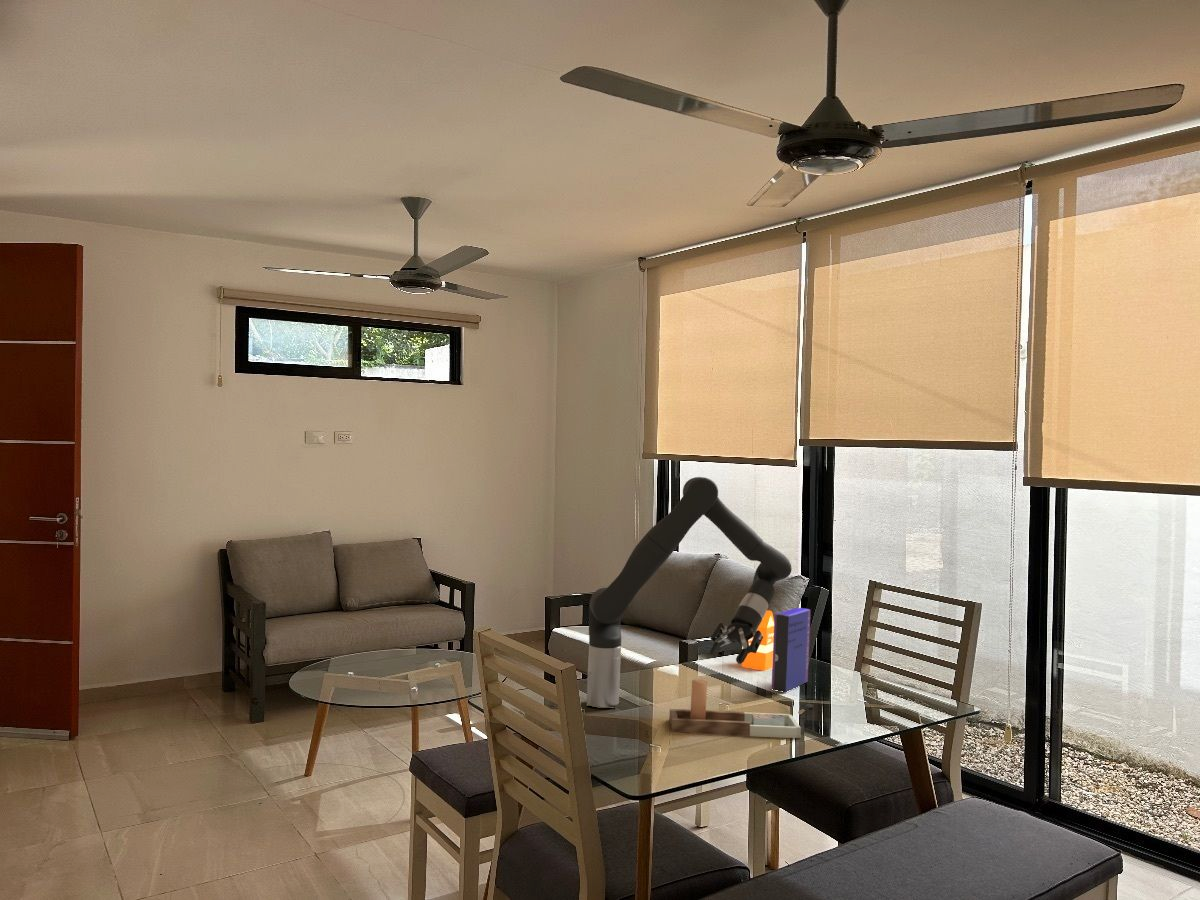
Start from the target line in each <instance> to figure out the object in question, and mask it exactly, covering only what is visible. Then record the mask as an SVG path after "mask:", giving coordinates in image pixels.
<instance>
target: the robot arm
mask: <svg viewBox="0 0 1200 900" xmlns="http://www.w3.org/2000/svg"><path fill="white" fill-rule="evenodd" d="M703 516H705V517H706V518H707V519H708V520H709V521H710V522H711V523H713V525H715V527H716V528H718V530H719V531H721V533H723V535H724V536H725V537H726V538H727V539H728V540H729V541H730V542H731V543H732V544H733V545H734V547H736V549H737V550H738V551H739V552H740V553H741V555H742V554H743V556H744V557H745V558H746V559H747V560H749V561H752V562H753V561H754V562H756V561H757V562H759V564H758V566H757V567H756V570H755V571H754V572H755V573H754V576H753V580H752V584H751V586H750V588H749V589H748V591H747V592H746V595H745V596H744V597H743V598H742V600H741V601H740V603H739V605H738V607H737V609H736V610H735V612H734V614H733V616H732V618H731V621H730V624H729V625H724V623H723V622H720V623H718V625H717V627H716V628H715V630H714V631H713V633H712V635H711V636H710V640H711V641H712V643H713V645H712V647H711V649H710V650H709V654H710V656H711V657H712V659H716V658H717V657H718V655H719V652H720V651H721V648H722V647H723V646H726V645H730V644H731V643H732V644H738V645H740V646H741V645H742V646H743V649H742V648H740V650H739V652H738V653H737V656H736V658H735V662H736V663H737V664H738V665H742V663H743V662H744V660H745V658H746V657H747V655H748V654H749V653H751V652H753V653H756V652H757V650H758V648H759V646H760V643H761V641H762V639H763V635H762V634H761V632H760V631H759V630H758V631H757V629H758V627H759V625H760V623H761V621H762V619H763V618H764V616H765V614H766V611H767V610H768V608H769V606H770V605H771V602H772V600H773V599H774V597H775V594H776V589H775V587H774V585H775V584H776V582H779V581H781V580H784V579H787V578H788V577H789V576H790V575H791V573H792V564H791V562H790V560H789V558H788V557H787V556H786V555H785V554H784V553H782V552H781V551H780V550H778V549H777V548H775V547H774V546H772V545H770V544H769V543H767V542H766V541H764V539H763V538H761V536H760V535H759V534H757V532H756V531H755V530H754V529H753V528H752V527H750V526H749V524H747V523H746V522H745V521H744V520H742V519H741V518H740V517H739V516H737V515H736V513H734V512H733V511H732V510H730V509H729V507H727V505H725V503H724V502H723V501H722V500H721V499H720V498H719V489H718V486H717V484H716V482H715V481H713V480H712V479H711V478H708V477H703V476H702V477H701V476H695V477H692V478H690V479H688V480H687V481H686V482H685V484H684V485H683V487H682V497H681V499H680V500H679V501H678V503H677V504H676V505H675V507H674V508H673V509H672V510H671V511H670V512H669V513H668V514H667V515H665V516H664V517H663V518H662V519H661V520H659V521H658V522H657V523H656V524H655V525H653V526H652V527H651V528H650V529H649V530H648V531H647V532H646V533H645V535H643V537H642V538H641V539H640V540H639V542H638V543H637V544H636V546H635V547H634V548H633V550H632V552H631V554H630V555H629V557H628V559H627V560H626V563H625V564H624V567H623V568H622V569H621V571H620V573H619V574H618V576H617V577H616V578H615V579H614V580H613V581H612V582H611V583H610V584H609V585H608V586H607V587H601V588H599V589H597V590H596V591H594V592H593V594H592V595H591V597H590V600H589V609H588V610H589V611H588V613H589V614H588V639H589V640H588V644H589V645H588V663H587V665H588V666H587V682H586V684H587V685H586V687H587V688H586V705H587V704H592V705H596V706H600V707H615V708H616V706H617V705H619V703H620V687H621V686H620V683H621V680H620V679H621V678H620V677H621V660H622V659H621V657H622V656H621V654H622V631H621V630H622V629H621V621H622V620H621V618H622V617H623V614H624V613H625V612H626V611H627V608H628V607H629V605H630V604H631V602H632V601H633V599H634V598H635V597H636V595H637V594H638V593H639V591H640V590H641V589H642V588H643V586H645V585H646V583H647V582H648V581H650V579H651V578H652V577H653V576H655V574H656V573H657V571H658V570H659V569H660V568H661V567H662V566H663V565H664V564H665V562H666V561H668V558H669V557H670V556H671V555H672V554H673V552H674V551H675V550H676V549H677V547H678V546H679V545H680V543H681V542H682V541H683V539H684V538H685V537H686V536H687V534H688V532H689V530H690V529H691V528H693V526H694V525H695V524H696V522H698V521H699V519H700V518H702V517H703ZM751 638H753V640H752V642H751V644H750V646H749V642H748V640H749V639H751Z"/></svg>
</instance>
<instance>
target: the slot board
mask: <svg viewBox="0 0 1200 900" xmlns="http://www.w3.org/2000/svg"><path fill="white" fill-rule="evenodd" d="M744 712H745V711H730V710H729V711H728V710H708V709H706V718H705V720H703V719H690V713H691V709H684V708H683V709H682V708H681V709H680V708H669V717H668V720H669V723H670V724H669V725H670V729H671V732H672V734H688V735H689V734H690V735H691V734H692V735H711V736H713V735H714V736H715V735H716V736H734V737H736V736H737V737H739V736H740V737H751V736H750V735H749V733H750V725H751V723H750V722H749V721H744V718H745V713H744Z"/></svg>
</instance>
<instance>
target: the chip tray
mask: <svg viewBox="0 0 1200 900" xmlns="http://www.w3.org/2000/svg"><path fill="white" fill-rule="evenodd" d="M743 712H744V713H745V718H744V721H749V722H750V733H749V735H750V736H749V737H760V738H761V737H763V738H769V737H770V738H782V739H783V738H785V739H786V738H787V739H801V737H802V736H801V732H802V727H801V726H800V725H799V723H798V722H797V720H796V719H795V718H794V717H793V716H794V715H792V713H774V714H775V715H783V717H784V719H785V722H784V726H769V725H752V713H753V712H746V711H743ZM754 713H755V714H773V713H771V712H769V713H768V712H767V713H766V712H754Z"/></svg>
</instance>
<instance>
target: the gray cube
mask: <svg viewBox="0 0 1200 900" xmlns="http://www.w3.org/2000/svg"><path fill="white" fill-rule="evenodd" d="M775 714H776V713H772V714H767V715H768V717H769V726H785V725H784V722H785V719H784V717H783V715H775Z"/></svg>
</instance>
